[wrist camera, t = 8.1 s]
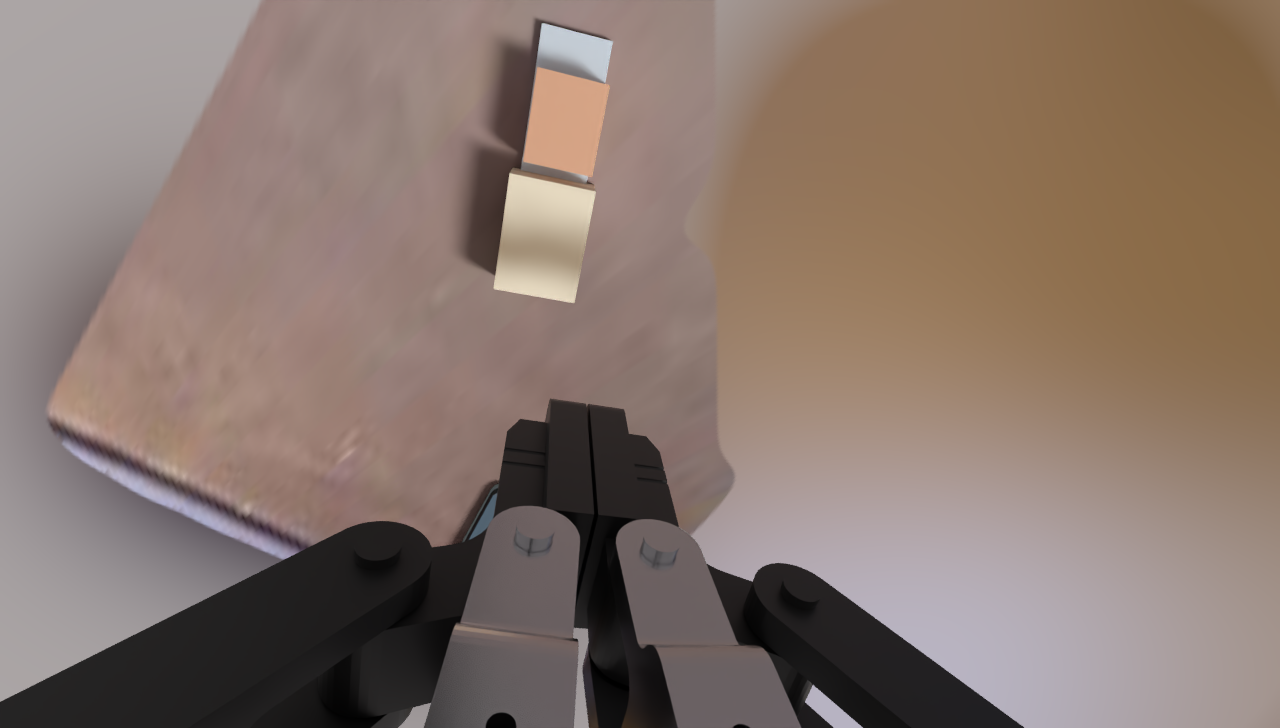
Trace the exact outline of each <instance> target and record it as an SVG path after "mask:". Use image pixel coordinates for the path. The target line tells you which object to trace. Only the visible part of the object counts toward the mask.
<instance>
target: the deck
mask: <svg viewBox="0 0 1280 728" xmlns="http://www.w3.org/2000/svg"><path fill="white" fill-rule="evenodd" d="M595 193H596V190H595V187H594V185H592V184H588V183H586V184H583V183H578V182H574V181H569V180H565V179H560V178H555V177H551V176H546V175H541V174H537V173H532V172H527V171H523V170H521V169H518V168H512V170H511V172H510V174H509V181H508V189H507V196H506V203H505V210H504V218H503V225H502V232H501V239H500V246H499V254H498V261H497V268H496V275H495V283H494V289H497V290H503V291H508V292H514V293H520V294H525V295H531V296H537V297H542V298H548V299H553V300H559V301H565V302H570V303H574V302H575V297H576V292H577V286H578V281H579V276H580V271H581V266H582V261H583V255H584V250H585V245H586V240H587V235H588V230H589V224H590V219H591V214H592V209H593V204H594V199H595Z"/></svg>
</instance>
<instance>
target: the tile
mask: <svg viewBox="0 0 1280 728" xmlns="http://www.w3.org/2000/svg"><path fill="white" fill-rule="evenodd" d="M609 88H610V85H607V84H603V83H599V82H595V81H591V80H587V79H583V78H579V77H575V76H572V75H568V74H564V73H560V72H556V71H552V70H548V69H544V68H540V67H537V72H536V78H535V85H534V92H533V98H532V105H531V112H530V118H529V125H528V131H527V138H526V145H525V151H524V158H523V162H527V163H531V164H536V165H540V166H545V167H549V168H554V169H558V170H562V171H567V172H571V173H576V174H580V175H585V176H589V177H592V175H593V170H594V165H595V159H596V154H597V149H598V144H599V139H600V134H601V129H602V124H603V118H604V113H605V108H606V103H607V98H608V93H609Z"/></svg>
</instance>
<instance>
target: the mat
mask: <svg viewBox="0 0 1280 728" xmlns="http://www.w3.org/2000/svg"><path fill="white" fill-rule="evenodd" d="M612 43H613V41H609V40H605V39H602V38H598V37H594V36H590V35H586V34H583V33H579V32H575V31H571V30H567V29H563V28H560V27H556V26H552V25H548V24H544V23H542V27H541V34H540V41H539V48H538V54H537V61H536V68H535V75H534V82H533V89H532V96H531V103H530V110H529V117H528V123H527V130H526V137H525V144H524V151H525V145H526V138H527V131H528V125H529V118H530V112H531V105H532V98H533V92H534V85H535V78H536V72H537V67H540V68H544V69H548V70H552V71H556V72H560V73H564V74H568V75H572V76H575V77H579V78H583V79H587V80H591V81H595V82H599V83H603V84H605V81H606V76H607V70H608V65H609V59H610V54H611V49H612ZM524 151H523V158H524ZM523 158H522V165H521V170H523V171H527V172H532V173H537V174H541V175H546V176H551V177H555V178H560V179H565V180H569V181H574V182H578V183H583V184H586V183H587V177H588V176H585V175H580V174H576V173H571V172H567V171H562V170H558V169H554V168H549V167H545V166H540V165H536V164H531V163H527V162H523Z"/></svg>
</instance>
